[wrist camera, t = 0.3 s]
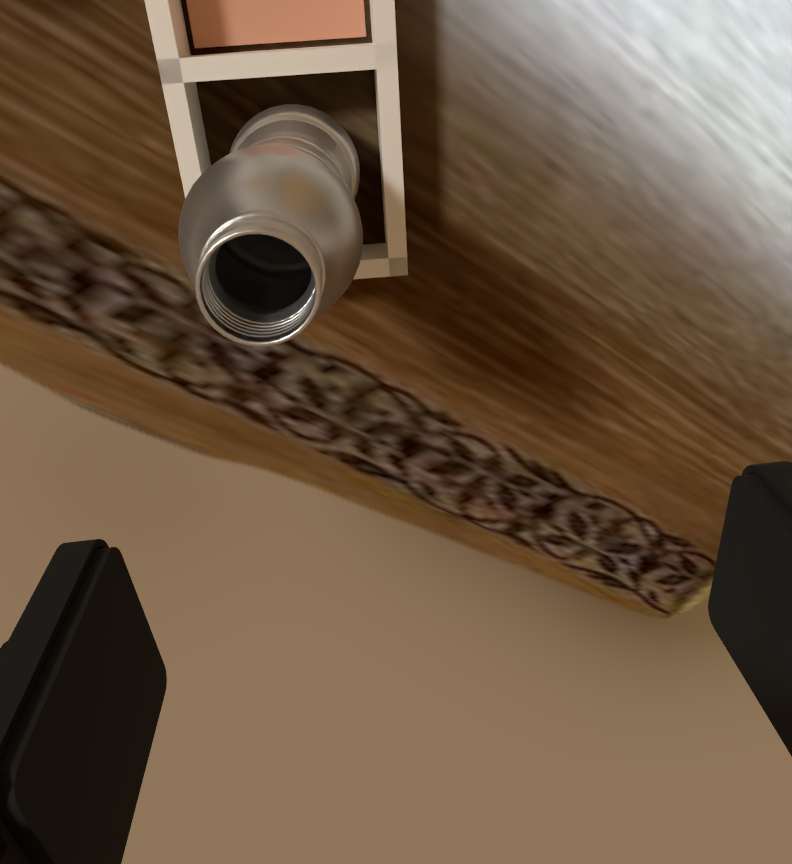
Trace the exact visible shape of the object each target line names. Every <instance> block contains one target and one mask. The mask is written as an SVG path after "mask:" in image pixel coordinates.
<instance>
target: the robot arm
mask: <svg viewBox="0 0 792 864" xmlns="http://www.w3.org/2000/svg"><path fill="white" fill-rule="evenodd" d="M708 609H709V610H708V611H709V616H710V620H711V623H712V625H713V627H714V629H715V631H716V632H717V634H718V636H719V637H720V639H721V640H722V642H723V644H724V645H725V647H726V649H727V650H728V652H729V654H730V655H731V657H732V659H733V660H734V662H735V664H736V665H737V667H738V668H739V670H740V672H741V673H742V675H743V677H744V678H745V680H746V682H747V683H748V685H749V687H750V688H751V690H752V691H753V693H754V695H755V696H756V698H757V700H758V701H759V703H760V705H761V706H762V708H763V710H764V711H765V713H766V715H767V716H768V718H769V720H770V721H771V723H772V725H773V726H774V728H775V730H776V731H777V733H778V734H779V736H780V738H781V739H782V741H783V743H784V744H785V746H786V748H787V749H788V751H789V753H790V754H791V756H792V463H791V462H788V461H782V462H773V463H764V464H755V465H750V466H747V467H746V468H745V469H744V471H743V473H742V476H737V477H735V479H734V480H733V482H732V486H731V491H730V496H729V501H728V506H727V511H726V516H725V521H724V526H723V531H722V536H721V541H720V546H719V551H718V557H717V562H716V567H715V572H714V577H713V582H712V587H711V592H710V597H709V603H708ZM166 680H167V678H166V669H165V666H164V663H163V660H162V658H161V655H160V652H159V650H158V648H157V645H156V642H155V640H154V637H153V634H152V632H151V630H150V627H149V624H148V621H147V619H146V616H145V614H144V611H143V608H142V606H141V603H140V601H139V598H138V596H137V593H136V590H135V588H134V585H133V583H132V580H131V577H130V575H129V572H128V570H127V567H126V565H125V562H124V559H123V557H122V554H121V552H120V550H119V549H118V548H116V547H111V548H109V547H108V545H107V543H106V542H105V541H104V540H101V539H96V540H87V541H78V542H69V543H63V544H61V545H60V546H59V547H58V548H57V550H56V552H55V554H54V555H53V557H52V559H51V561H50V563H49V565H48V567H47V568H46V570H45V572H44V574H43V576H42V578H41V580H40V582H39V584H38V586H37V587H36V589H35V591H34V593H33V595H32V597H31V599H30V601H29V603H28V604H27V606H26V608H25V610H24V612H23V614H22V616H21V618H20V619H19V621H18V623H17V625H16V627H15V629H14V631H13V633H12V635H11V637H10V639H9V640H8V641H7V642H5V643H4V644H3V646H2V647H1V648H0V864H121V862H122V858H123V854H124V850H125V846H126V842H127V838H128V835H129V831H130V827H131V823H132V819H133V815H134V811H135V808H136V803H137V800H138V796H139V792H140V788H141V784H142V780H143V776H144V773H145V769H146V765H147V761H148V757H149V753H150V749H151V746H152V741H153V738H154V734H155V730H156V726H157V722H158V718H159V714H160V711H161V707H162V703H163V699H164V695H165V690H166V682H167V681H166Z"/></svg>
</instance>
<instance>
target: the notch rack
mask: <svg viewBox="0 0 792 864" xmlns="http://www.w3.org/2000/svg"><path fill="white" fill-rule="evenodd" d="M186 3H187V8H188V14H189V19H190V25H191V31H192V36H193V42H194V47H195V48H206V47H221V46H236V45H250V44H265V43H280V42H295V41H309V40H324V39H339V38H354V37H366V28H365V13H364V0H186ZM145 5H146V10H147V14H148V19H149V24H150V29H151V34H152V39H153V43H154V48H155V53H156V58H157V63H158V68H159V73H160V77H161V82H162V87H163V92H164V97H165V102H166V107H167V111H168V116H169V121H170V126H171V131H172V136H173V140H174V145H175V150H176V155H177V160H178V165H179V170H180V174H181V179H182V184H183V189H184V194H185V199H186V197H187V195H188V193H189V191H190V189H191V187H192V185H193V184H194V183H195V182H196V180H197V179H198V178H199V177H200V176H201V175H202V173H203V172H204V171H205V170H206V169H208V168H209V167H210V166H211V162H210V157H209V151H208V146H207V140H206V135H205V129H204V124H203V118H202V113H201V107H200V102H199V97H198V91H197V86H196V82H200V81H215V80H229V79H244V78H258V77H272V76H287V75H301V74H316V73H330V72H345V71H359V70H373V69H374V75H375V90H376V105H377V121H378V136H379V151H380V166H381V182H382V197H383V212H384V227H385V243H378V244H365V245H363V250H362V255H361V260H360V265H359V267H358V269H357V272H356V274H355V277H354V279H365V278H377V277H390V276H403V275H408V262H407V242H406V222H405V202H404V182H403V162H402V142H401V122H400V102H399V82H398V62H397V42H396V22H395V2H394V0H370V14H371V29H372V43H365V44H351V45H336V46H321V47H307V48H292V49H277V50H263V51H248V52H233V53H219V54H204V55H191V53H190V48H189V42H188V37H187V31H186V26H185V20H184V15H183V9H182V4H181V0H145Z"/></svg>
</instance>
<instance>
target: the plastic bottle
mask: <svg viewBox="0 0 792 864" xmlns="http://www.w3.org/2000/svg"><path fill="white" fill-rule="evenodd" d="M359 181H360V165H359V160H358V155H357V152H356V149H355V147H354V144H353V142H352V140H351V138H350V137H349V135H348V134H347V132H346V131H345V129H344V128H343V127H342V126H341V125H340V124H339V123H338V122H337V121H336V120H335V119H333V118H332V117H330V116H329V115H327V114H326V113H324V112H323V111H320V110H318V109H315V108H313V107H310V106H305V105H299V104H283V105H279V106H275V107H271V108H268V109H266V110H264V111H262V112H260V113H258V114H257V115H255V116H254V117H253V118H252V119H250V120H249V121H248V122H247V123H246V124H245V125H244V126H243V128H242V129H241V130H240V131H239V132H238V134H237V136H236V138H235V140H234V142H233V144H232V146H231V150H230V153H229V154H228V155H226V156H224V157H223V158H221V159H219V160H218V161H217V162H215V163H214V164H213V165H212V166H210V167H209V168H208V169H206V170H205V171H204V172H203V173H202V175H201V176H200V177H199V178H198V179H197V180H196V182H195V183H194V184H193V185H192V187H191V189H190V191H189V193H188V195H187V197H186V199H185V201H184V204H183V207H182V211H181V214H180V218H179V233H178V238H179V245H180V252H181V256H182V259H183V262H184V265H185V268H186V271H187V274H188V276H189V278H190V280H191V282H192V283H193V285H194V287H195V291H196V298H197V301H198V304H199V307H200V310H201V312H202V313H203V315H204V317H205V318H206V320H207V321H208V322H209V323H210V324H211V326H212V327H213V328H214V329H215V330H217V331H218V332H219V333H221V334H222V335H223V336H225V337H227V338H229V339H230V340H232V341H234V342H238V343H241V344H244V345H249V346H257V347H260V346H272V345H276V344H281V343H283V342H285V341H288V340H290V339H292V338H293V337H295V336H296V335H298V334H299V333H301V332H302V331H303V330H304V329H305V328H306V327H307V326H308V325H309V323H310V322H311V320H312V319H313V318H315V317H316V316H318V315H319V314H321V313H322V312H324V311H325V310H327V309H328V308H329V307H331V306H332V305H333V304H334V303H335V302H336V301H337V300H338V299H339V298H340V297H341V296H342V295H343V294H344V293H345V291H346V290H347V288H348V287H349V285H350V284H351V282H352V281H353V279H354V277H355V274H356V272H357V269H358V267H359V265H360V260H361V255H362V250H363V228H362V223H361V218H360V214H359V211H358V207H357V205H356V203H355V197H356V195H357V192H358V187H359Z"/></svg>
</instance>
